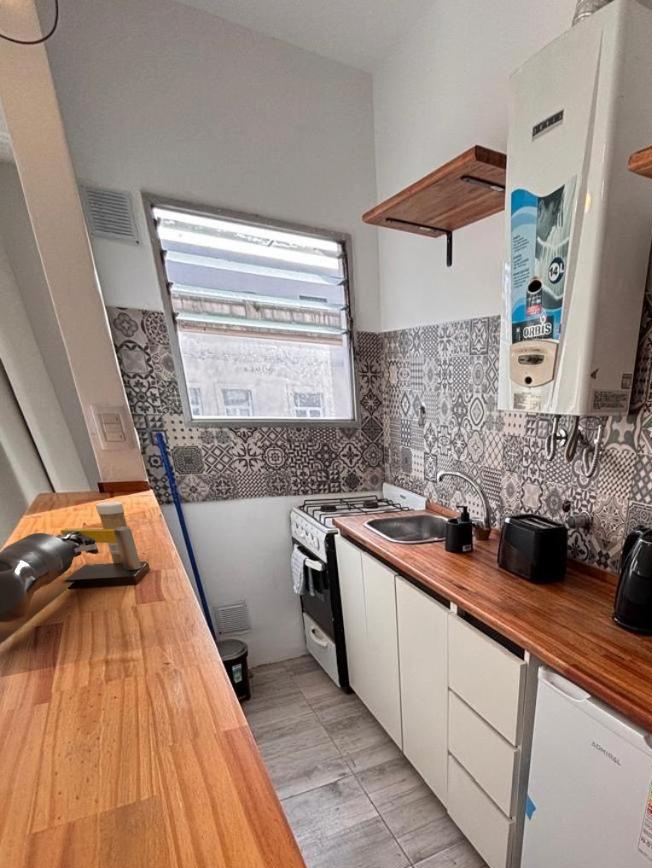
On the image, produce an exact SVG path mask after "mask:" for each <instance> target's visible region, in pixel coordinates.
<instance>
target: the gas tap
mask: <svg viewBox="0 0 652 868" xmlns="http://www.w3.org/2000/svg"><path fill="white" fill-rule="evenodd" d="M68 531H78V532H79V533H81V534H82V535H85V536H88V537H90V538H93V539H95V542H96V544H98V543H99V544H107V543H117V544H118V547H119V551H120V554H121V558H122V562H123V565H124V569H125V570H137V569H140V568H141V565H140V562H141V561H140V558H139V554H138V551H137V547H136V543H135V539H134V536H133V532H132V528H131V527H130V526H127V527H118V528H114V529H103V528H72V527H71V528H70V527H69V528H68V527H67V528H63V529H60V533H61V535H63V534H65V533H67V532H68Z"/></svg>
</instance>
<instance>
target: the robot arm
mask: <svg viewBox="0 0 652 868" xmlns="http://www.w3.org/2000/svg"><path fill="white" fill-rule="evenodd" d="M83 552H85V553H86V554H90V555H91V554H92V555H96V554H98V553H99V552H100V551H99V549H98V545H97V543H96V542H95V539H93V538H90V537H88V536H85V535H82V534H81V533H79V532H78V531H68V532H67V533H65V534H63V535H62V534H56V535H53V534H50V533H44V532H36V533H31V534H28V535H26V536H25V537H23V538H21V539H18V540H16V541H15V542H13V543H11V544H9V545H7V546H6V547H4V548H3V549H2V550H0V623H1V624H2V623H4V624H5V623H10V622H15V621H17V620H20V619H22V618H24V617H26V615H27V614H28V612H29V610H30V606H31V602H32V599H33V596H34V594H35V593H36V592H37V591H39V590H40V589H41V588H43V587H46V586H48V585H49V584H52V583H53V582H54V581H55V580H56V579H58V578H59V577H61V576H62V575H63V574H65V573H66V572H67V571H68V570H69V569H70V568H71V567H72V565H73V561H74V559H75V558H77V557H79V556H81V555H82V553H83Z"/></svg>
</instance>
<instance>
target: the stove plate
mask: <svg viewBox="0 0 652 868" xmlns="http://www.w3.org/2000/svg"><path fill="white" fill-rule="evenodd" d="M139 562H140V565H141V568H140V569H137V570H125V569H124V565H123V563H113V562H110V563H109V562H108V563H92V564H91V563H90V564H83V565H82V566H81V567H80V568H78V569H77V570H76V571H75V572H74V573H72V574H71V575H70V576H68V577H67V578H66V579H65V580H64V582H66V583H68V582H73V583H71V584H70V585H69V586H67V589H68V590H76V589H91V588H105V587H106V588H107V587H123V586H136V585H138V584H139V583H140V582H141V581H142V580H143V578H144V577H145V576H146V575H147V573H149V571H150V570H151V567H150V564H149V561H148V560H146V561H145V560H144V561H139Z"/></svg>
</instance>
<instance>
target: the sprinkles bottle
mask: <svg viewBox="0 0 652 868" xmlns="http://www.w3.org/2000/svg"><path fill="white" fill-rule="evenodd" d="M95 508H96V512H97V514H98V516H99V518H100V521H101V522H100V523H101V525H102V529H114V528H118V527H128V523H127V521H126V517H125V508H124V505H123V502H121V501H104V502H98V503H96V504H95ZM106 544H107V547H108V550H109V553H110V556H111V559H112V563H123V562H122V558H121V554H120V551H119V547H118V544H117V543H106Z"/></svg>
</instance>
